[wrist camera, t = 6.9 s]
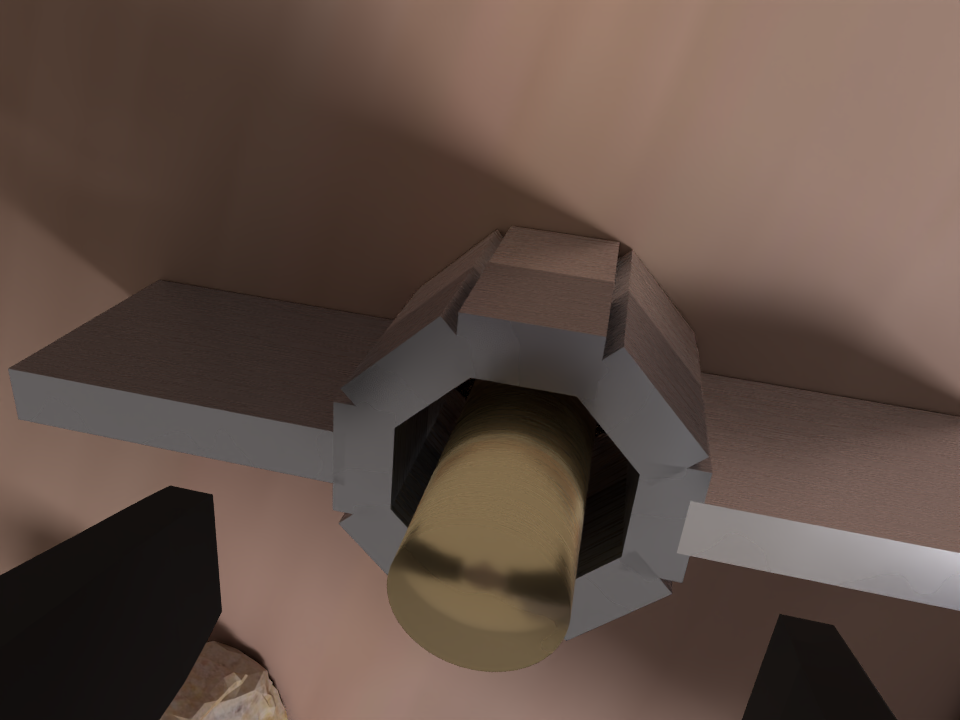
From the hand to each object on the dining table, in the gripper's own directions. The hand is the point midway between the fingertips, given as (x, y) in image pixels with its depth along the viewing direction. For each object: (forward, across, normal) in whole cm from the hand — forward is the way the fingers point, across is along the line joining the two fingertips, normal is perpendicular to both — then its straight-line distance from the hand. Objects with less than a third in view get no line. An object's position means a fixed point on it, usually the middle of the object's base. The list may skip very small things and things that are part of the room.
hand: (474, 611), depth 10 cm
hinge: (+7, 0, 0) cm, 7 cm away
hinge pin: (+7, 0, 0) cm, 7 cm away
